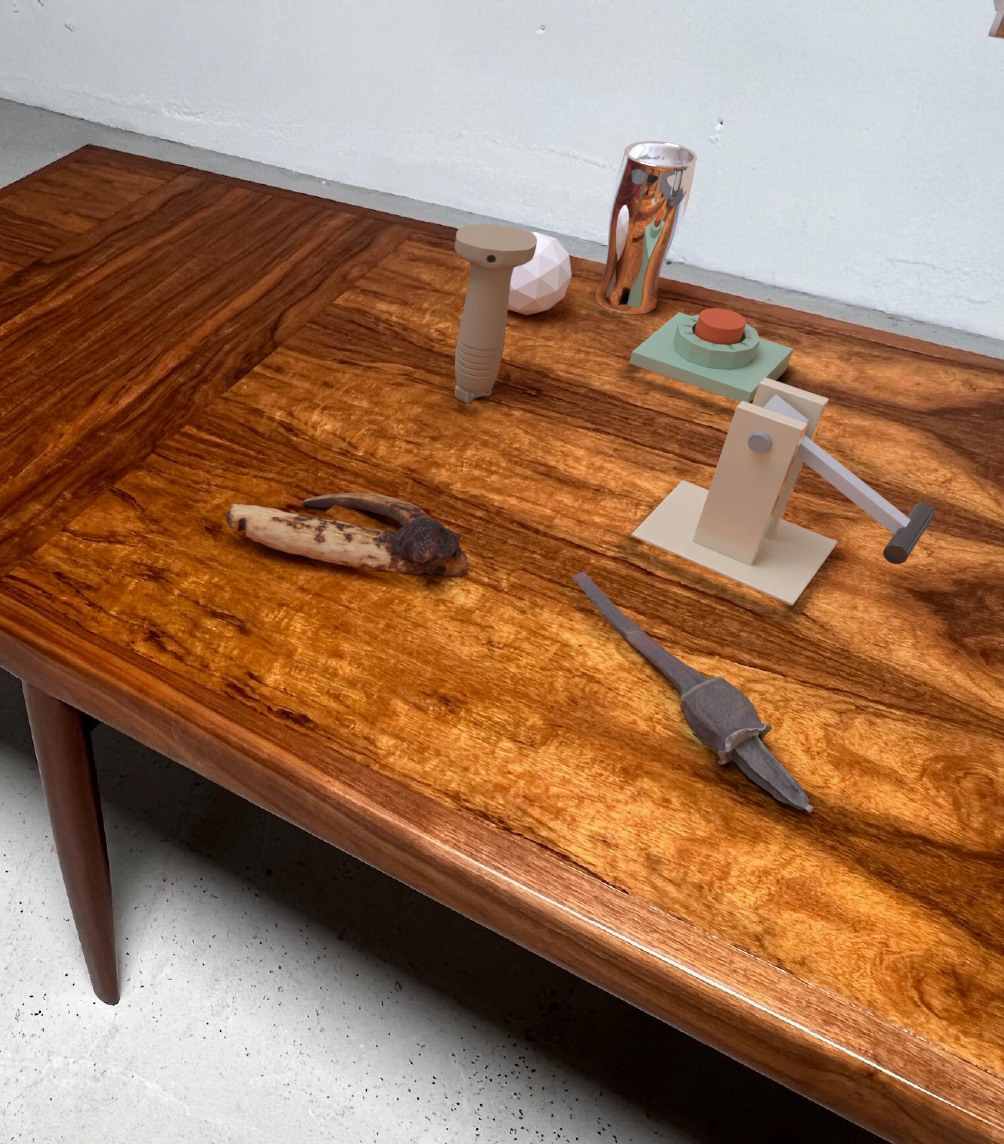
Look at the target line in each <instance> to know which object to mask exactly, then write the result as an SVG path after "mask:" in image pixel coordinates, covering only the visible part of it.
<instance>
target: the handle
mask: <svg viewBox="0 0 1004 1144" xmlns="http://www.w3.org/2000/svg"><path fill="white" fill-rule="evenodd" d="M536 244H537V238H536V236H535V235H534V234H533V233H532V232H530V231H527V230H524V229H521V228H517V227H513V226H508V225H500V224H489V223H486V224H485V223H482V224H481V223H480V224H468V225H467V224H466V225H464V226H461V227H460V228H458V229H457V231H456V233H455V241H454V250H455V253H456V254H457V255H458V256H459V257H460V258H462V259H463V260H465V261H466V262H468V263H469V264H470V271H469V272H470V273H469V278H468V285H467V288H466V289H467V290H466V296H465V300H464V305H463V311H462V314H461V318H460V323H459V324H460V325H459V329H458V334H457V340H456V347H455V360H454V375H455V377H454V378H455V381H456V385H454V397H455V398H456V400H457V401H460V402H464V403H465V404H466V405H468V404H469V403H471V402H472V401H473V400H475V399H477V398H482V397H483V398H484V397H490V396H491V395H492V389H493V388H494V385H495V382H496V380H497V378H498V374H499V371H500V368H501V363H502V359H503V355H504V354H503V353H504V348H505V341H506V332H507V322H508V311H509V310H508V301H509V292H510V283H511V277H512V273H513V269H514V268H515V267H517V266H520V265H524V264H526V263H528V262H529V261H531V260H532V259H533V257H534V254H535V250H536Z"/></svg>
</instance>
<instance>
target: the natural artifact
mask: <svg viewBox="0 0 1004 1144" xmlns="http://www.w3.org/2000/svg"><path fill="white" fill-rule="evenodd" d="M571 578H572V579H573V580H574V581H575V582H576V584H578V586H579V588H580V589H581V590H582V591H583V592H584V594H586V596H587V598H589V600H590V601H591V602H592V604H593V605H594V607H596V608H597V610H598V611H599V613H600V614H601V615H602V616H603V618H604V619H605V620H606V621H607V622H608V623H609V625H610V626H612V628H613V629H614V630H615V631H616V632H617V633H618V634H619V635H620V636H621V637H622V638H623V639H624V640H626V642H627V643H629V644H630V645H631V647H632V648H634V649H635V650H636V651H638V653H640V654H642V655H643V656H644V657H645V658H646V659H647V660H648V661H649V662H650V663H652V664H653V665H654V667H656V668H657V669H658V670H659V671H660V672H661V673H662V674H663V675H664V676H665V677H666V678H667V679H668V681H670V682H671V683H672V684H673V685H674V688H675V689H676V690H678V692H679V694H680V701H681V703H680V704H679V707H680V709H681V711H682V713H683V717H684V720H685V722H686V725H687V726H689V728H690V729H691V730H692V731H691V733H692V735H693V736H694V737H695V738H696V739H698V740H699V741H700V742H701V743H703V745H705V746H707V747H709V748H711V749H712V750H713V751H714V752H715V753H716V755H717V756H718V758H719V760H717V763H718V764H719V765H723V766H724V765H726V764H728V763H730V762H731V761H733V762H734V763H735V764H736V765H737V766H738V767H739V768H740V770H741V771H742V772H743V773H744V774H745V775H746V776H747V777H748V779H750V780H751V781H752V782H753V783H754V784H756V785H757V786H759V787H760V788H762V789H763V790H765V791H766V792H768V793H770V794H771V795H772V796H773V798H774V799H776V800H777V801H778V802H780V803H783V804H787V805H788V806H790V807H793V808H795V809H797V810H798V811H802V810H805V811H806V812H807V813H809V814H811V813H812V812H813V810H814V806H813V805H811V804H809V802H810V800H809V797H808V796H807V794H806V792H805V790H804V789H803V787H802V786H801V785H800V783H799V781H798V780H796V778H794V777H793V775H791V774H790V773H789V771H788V770H787V769H786V768H785V767H784V765H783V764H782V762H781V761H779V759H778V758H777V757H776V755H774V754H773V752H771V750H770V749H769V748H768V746H767V745H766V744H765V743H764V742H763V740H764V738H765V736H766V735H768V733H770V732H771V731H772V729H773V727H772V724H771V723H769V722H768V723H765V722H762V720H761V718H760V717H759V715H758V710H757V709H756V706H754V704H753V702H752V701H751V700H750V699H749V697H747V695H745V694H744V693H743V692H742V691H741V690H740V689H738V688H737V687H736V686H735V685H733V684H731V683H730V682H728V681H727V680H726V679H725V678H724V677H723V676H721V675H720V676H714V677H712V676H711V677H708V676H706V675H705V674H704V673H701V672H700V671H698V670H696V669H695V668H693V666H690V665H688V664H687V663H685V662H684V661H682V660H680V659H679V657H677V656H675V655H674V654H672V653H671V652H670V651H668V650H667V649H665V648H664V647H663V646H662V645H661V644H659V643H658V642H657V641H656V640H654V639H653V638H652V637H650V636H649V635H648V634H647V633H646V631H644V630H643V629H642V628H641V627H640V625H639V624H638V623H637V622H635V621H634V620H631V619H630V618H629V617H628V616H626V615H625V614H624V613H623V611H621V610H620V609H619V608H618V606H616V605H615V604H614V603H613V602H612V601H611V599H609V598H608V597H607V596H606V594H605V593H604V592H603V591H602V590H601V588H600V587H599V586H598V585H597V584H596V583H595V582H594V581H593V580H592V578H591V577H590V576H589V575H588V574H587V573H586V572H584V571H581V572H579V573H576V574H575V575H573V576H572V577H571Z"/></svg>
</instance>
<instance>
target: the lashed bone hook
mask: <svg viewBox="0 0 1004 1144" xmlns="http://www.w3.org/2000/svg"><path fill="white" fill-rule="evenodd" d="M301 505H303V506H306V507H312V508H322V509H332V508H333V507H334V506H335V505H336V506H339V507H343V508H349V509H350V508H351V509H358V510H363V511H367V512H371V513H374V514H379V515H382V516H385V517H388V518H390V519H392V520H395V521H396V522H397V523H399V524H400V525H401V526H402V527H400V528H399V529H398V531H397V533H396V532H395V531H392V530H389V529H388V530H387V529H386V530H380V529H374V528H371V527H368V526H367V527H366V526H361V525H357V524H352V523H348V522H345V521H341V520H334V519H333V520H332V519H331V520H330V519H327V518H321V517H319V516H314V515H304V514H301V513H293V512H292V513H291V512H286V511H282V510H280V509H277V508H273V507H267V506H266V507H265V506H259V505H255V504H244V503H232V504H231V505H230V506H229V507H228V510H226V513H225V521H226V523H227V525H228V526H229V528H231V529H232V530H234V531H236V532H243V531H244V535H245V537H246V538H249V539H251V540H252V541H253V542H255V543H259V544H262V545H264V546H266V547H268V548H271V549H273V550H277V551H281V552H283V553H286V554H291V555H299V556H302V557H307V558H310V559H313V560H318V561H322V562H326V563H332V564H337V565H341V566H347V567H350V568H353V569H354V568H355V569H362V570H367V571H373V572H378V571H383V572H384V571H385V572H390V573H396V574H399V575H413V576H419V575H423V574H424V573H426V574H428V575H433V574H440V575H442V576H444V577H462V576H465V574H466V573H467V571H468V562H467V559H468V558H467V557H468V556H467V554H466V553H464V551H463V550H462V548H461V547H460V546H461V545H460V543H459V540H460V539H461V538H462V533H461V532H454V531H452V530H451V529H450V528H446V527H445V525H443V523H442V522H440V521H438V520H437V519H432V518H431V517H430V516H429V515H428V514H427V513H426V512H425V511H424V510H423V509H422V508H420V507H419V506H417V505H415V504H414V503H412V502H409V501H408V500H404V499H400V498H397V497H392V496H388V495H383V494H378V493H369V492H338V493H328V494H323V495H317V496H313V497H310V498H306V499H303V500H302V502H301Z"/></svg>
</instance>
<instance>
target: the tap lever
mask: <svg viewBox="0 0 1004 1144" xmlns="http://www.w3.org/2000/svg"><path fill="white" fill-rule="evenodd" d="M763 408H765V409H768V410H770V411H773V412H776V413H779V414H782V415H785V416H788V417H790V418H793V419H796V420H799V421H802V422H805V423H807V422H808V421H809V420H808V419H807V418H806V417H804V416H803V415H802V414H801V413H799V412H798V411H797V410H796V409H794V408H793V407H792V406H790V405H789V404H788V403H787V402H785V401H784V400H783V399H782V398H780V397H779V396H778V395H777V394H775V395H774V396H773V397H772V398H771V399H770V400H769V401H768V402H767V403H766V404H765V406H764V407H763ZM796 456H797V457H798V458H799V459H800V460H802V461H803V462H804V465H805V464H806V465H807V466H808V467H809V468H810V469H811V470H813V471H814V472H815V473H816V474H817V475H819V476H820V477H821V478H823V480H825V481H827V482H828V483H829V484H831V486H833V487H834V488H835V489H836V490H838V491H839V492H840V493H841V494H843V496H845V497H846V498H847V499H849V500H850V501H851V502H852V503H853V504H855V505H856V506H857V507H858V508H860V509H861V510H862V511H864V513H866V514H867V515H868V516H870V517H871V518H872V519H873V520H875V521H876V522H877V523H878V524H879V525H881V527H883V528H885V529H886V530H887V531H888V532H890V533H891V534H892V536H891V538H890V539H889V541H888V543H887V544H886V546H885V547H884V548H883V552H882V556H883V559H885V560H886V562H888V563H890V564H893V565H902V564H904V563H905V562H907V560H908V559H909V557H910V556H911V554H912V552H913V551H914V549H915V548H916V546H917V545H918V543H919V541H920V540H921V538H922V537H923V535H924V533H925V532H926V531H927V528H928V527H929V525H930V524H931V522H932V521H933V519H934V518H935V515H936V513H935V509H934V507H933V506H932V505H930V504H928V503H926V502H917V503H915V504H913V505H912V507H911V508H910V509H909V511H908V512H907V514H906V515H905V514H904V513H903V512H902V511H901V510H899V508H897V507H895V506H894V505H893V504H892V503H890V501H889V500H888V499H886V498H884V497H883V496H882V495H881V494H879V493H878V492H877V491H876V490H874V489H873V488H871V486H869V485H868V484H867V483H865V482H864V481H863V480H862V479H860V478H859V477H858V476H857V475H855V474H854V473H853V472H852V471H851V470H850V469H848V468H847V467H845V466H844V465H843V464H842V463H841V462H839V461H838V460H837V459H835V458H834V457H833V456H832V455H831V454H829V453H828V452H827V451H825V450H824V449H823V448H822V447H821V446H819V445H818V444H817V443H815V442H814V440H813V441H812V440H810V439H809V438H808V437H807V436H805V435H803V438H802V441H801V443H800V446H799V448H798V451H797V454H796Z"/></svg>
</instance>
